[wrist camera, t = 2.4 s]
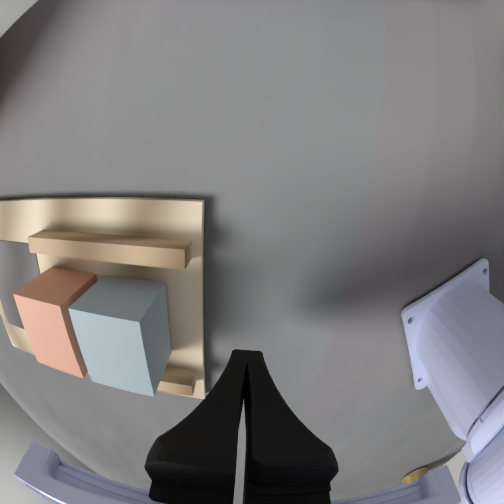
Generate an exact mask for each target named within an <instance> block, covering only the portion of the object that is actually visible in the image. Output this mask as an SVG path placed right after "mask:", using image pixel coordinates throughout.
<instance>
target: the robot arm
mask: <svg viewBox="0 0 504 504" xmlns="http://www.w3.org/2000/svg"><path fill="white" fill-rule="evenodd" d="M401 317H402V321H403V325H404V330H405V335H406V339H407V344H408V350H409V355H410V360H411V366H412V372H413V379H414V386H415V388H416V390H420V389H422V388H424V387H426V386H428V388H429V390H430V392H431V393H432V395H433V397H434V399H435V400H436V402H437V404H438V406H439V407H440V409H441V411H442V413H443V415H444V417H445V418H446V420H447V422H448V424H449V426H450V428H451V430H452V431H453V432H454V434H455V435H456V436H458V437H459V438H461V439H463V440H466V441H467V443H466V444H465V446H464V447H463V448H462V452H463V454H464V456H465V458H466V462H465V463H464V466H463V467H462V470H461V473H460V477H459V486H458V489H459V493H458V490H457V488H456V485H455V483H454V481H453V478H452V475H451V473H450V471H449V468H448V466H447V465H445V466H442V467H440V468H437V469H435V470H432V471H430V472H427V473H426V474H424V475H423V476H422V477H420V478H419V480H418V481H415V482H412V483H409V484H405V485H402V486H399V487H395V488H392V489H388V490H384V491H381V492H376V493H372V494H368V495H363V496H358V497H353V498H348V499H342V500H335V501H330V495H329V492H330V491H331V486H330V482H331V480H332V479H333V478H334V477H335V475H336V474H337V473H338V471H339V469H338V463H337V460H336V458H335V455H334V453H333V451H332V449H331V448H330V447H329V446H328V445H326V444H325V443H324V442H322V441H321V440H320V439H319V438H318V437H316V436H315V435H314V434H313V433H312V432H311V431H310V430H309V429H308V428H307V427H306V426H305V425H304V424H303V423H302V422H301V421H300V420H299V419H298V418H297V417H296V415H295V414H294V413H293V412H292V410H291V409H290V408H289V406H288V405H287V404H286V402H285V401H284V399H283V398H282V396H281V395H280V393H279V391H278V390H277V388H276V386H275V384H274V382H273V380H272V378H271V376H270V374H269V371H268V369H267V366H266V364H265V361H264V357H263V353H262V352H261V351H251V350H237V349H234V350H233V351H232V354H231V357H230V359H229V362H228V364H227V366H226V368H225V370H224V371H223V373H222V375H221V377H220V378H219V380H218V381H217V383H216V384H215V386H214V387H213V388H212V390H211V391H210V393H209V394H208V395H207V396H206V398H205V399H204V400H203V401H202V402H201V403H200V404H199V405H198V406H197V407H196V408H195V409H194V410H193V411H192V412H191V413H190V414H189V415H188V416H187V417H186V418H185V419H183V420H182V421H181V422H180V423H178V424H177V425H176V426H175V427H173V428H172V429H170V430H169V431H167V432H166V433H164V434H163V435H161V436H159V437H158V438H157V439H156V441H155V442H154V444H153V446H152V447H151V449H150V451H149V453H148V456H147V459H146V463H145V470H146V471H147V473H148V475H149V477H150V478H151V480H152V483H151V487H150V491H147V490H143V489H139V488H136V487H132V486H129V485H125V484H122V483H119V482H116V481H113V480H110V479H107V478H104V477H102V476H99V475H96V474H94V473H91V472H89V471H86V470H84V469H81V468H79V467H77V466H75V465H72V464H70V463H68V462H65V461H64V460H62V459H60V457H59V456H58V454H56V453H55V452H54V451H53V450H51V449H50V448H48V447H46V446H44V445H42V444H41V443H39V442H37V441H35V440H32V442H31V444H30V446H29V447H28V449H27V451H26V453H25V455H24V456H23V458H22V460H21V462H20V464H19V466H18V468H17V470H16V471H15V473H14V475H15V477H16V478H18V479H19V480H20V481H21V482H22V483H23V484H25V485H26V486H27V487H28V488H30V489H31V490H32V491H33V492H35V493H36V494H37V495H39V496H40V497H41V498H43V499H45V500H47V501H48V502H50V503H52V504H233V497H234V486H235V475H236V459H237V442H238V429H239V424H240V418H241V412H242V406H243V400H244V407H245V424H246V455H245V474H244V492H243V504H459V503H460V502H461V503H462V504H504V304H503V303H502V302H500V301H499V300H498V299H497V298H496V297H494V296H493V295H492V294H491V293H489V263H488V260H487V259H485V258H482V259H480V260H479V261H477V262H476V263H475V264H473V265H472V266H470V267H469V268H467V269H466V270H465V271H463V272H462V273H460V274H459V275H457V276H456V277H454V278H453V279H451V280H450V281H448V282H446V283H445V284H443V285H442V286H440V287H439V288H437V289H435V290H434V291H432V292H431V293H429V294H427V295H426V296H424V297H422V298H421V299H419V300H417V301H415V302H414V303H412V304H410V305H408V306H407V307H405V308H404V309H403V311H402V313H401ZM409 318H411V319H410V320H408V319H409Z"/></svg>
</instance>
